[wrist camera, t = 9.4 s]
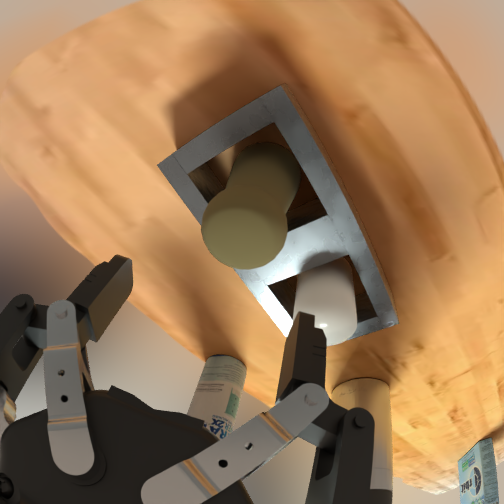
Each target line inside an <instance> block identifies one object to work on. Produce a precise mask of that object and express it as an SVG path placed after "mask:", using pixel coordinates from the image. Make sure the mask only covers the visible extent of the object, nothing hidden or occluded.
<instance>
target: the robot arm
mask: <svg viewBox="0 0 504 504" xmlns="http://www.w3.org/2000/svg"><path fill="white" fill-rule="evenodd" d="M132 287H133V272H132V260H131V259H129V258H126V257H123V256H120V255H115V256H114V257H113V258H112V259H111V260H110V261H109V263H108V262H103V263H101V264H99V265H97V266H96V267H95V268H94V269H93V270H92V271H91V272H90V274H89V275H87V277H86V278H85V280H83V281H82V282H81V283H80V284H79V286H78V287H77V288H76V289H75V290H74V291H73V293H72V294H71V295H70V296H69V297H68V298H67V299H66V300H59V301H56V302H54V303H53V304H51V305H50V306H45V305H38V304H35V303H34V300H33V298H32V297H31V296H30V295H28V294H20V295H18V296H16V297H14V298H13V299H12V300H11V301H10V303H9V304H8V305H7V306H6V307H5V309H4V310H3V311H2V313H1V314H0V504H253V502H252V500H251V498H250V496H249V494H248V493H247V490H246V488H245V486H244V484H243V483H242V481H243V480H244V479H245V478H247V477H248V476H250V475H251V474H252V473H254V472H255V471H256V470H258V469H259V468H260V467H262V466H263V465H264V464H265V463H266V462H268V461H269V460H270V459H271V458H273V457H274V456H275V455H276V454H278V453H279V452H280V451H281V450H283V449H284V448H285V447H286V446H288V445H289V444H290V443H291V442H292V441H293V440H295V439H296V438H297V437H300V438H302V439H303V440H306V441H307V442H309V443H311V444H313V445H315V446H317V447H316V452H315V458H314V463H313V469H312V474H311V479H310V484H309V488H308V493H307V498H306V503H305V504H392V489H393V449H392V423H391V405H390V392H389V387H388V385H387V384H386V383H385V382H383V381H381V380H378V379H372V378H362V379H355V380H350V381H347V382H344V383H342V384H340V385H339V386H337V387H336V388H335V389H334V390H333V392H332V400H331V399H330V398H329V397H328V394H327V392H326V391H325V371H326V346H327V338H326V336H325V334H324V331H323V329H320V328H316V327H315V315H312V314H308V313H305V312H301V311H299V312H298V313H297V315H296V317H295V320H294V322H293V324H292V326H291V328H290V330H289V333H288V335H287V339H286V342H285V348H284V354H283V360H282V367H281V373H280V379H279V384H278V390H277V396H276V402H275V406H274V407H273V408H271V409H270V410H269V411H267V412H265V413H264V412H262V413H260V414H258V415H257V416H255V417H254V418H253V419H251V420H250V421H248V422H247V423H245V424H244V425H242V426H241V427H239V428H238V429H236V430H235V431H233V432H232V433H230V434H229V435H227V436H226V437H224V438H223V439H221V440H220V439H219V438H218V437H217V436H216V435H215V434H214V433H213V432H211V431H210V430H209V429H207V428H206V427H204V422H205V421H204V420H201V419H198V418H195V417H192V416H189V415H186V414H183V413H178V412H169V411H161V410H155V409H153V408H151V407H150V406H148V405H147V404H145V403H144V402H142V401H141V400H140V399H138V398H137V397H135V396H134V395H133V394H130V393H128V392H126V391H123V390H121V389H119V388H116V387H115V386H111V387H110V389H109V391H107V390H95V389H94V386H93V383H92V378H91V374H90V367H89V361H88V353H87V346H86V343H87V342H88V340H89V339H90V340H92V341H95V342H97V341H98V340H99V339H100V337H101V336H102V334H103V333H104V331H105V330H106V328H107V327H108V325H109V324H110V322H111V321H112V319H113V318H114V316H115V315H116V314H117V312H118V311H119V309H120V308H121V306H122V305H123V303H124V302H125V301H126V299H127V298H128V296H129V295H130V293H131V291H132ZM20 337H21V338H20ZM19 338H20V339H19ZM18 340H19V341H18ZM17 341H18V342H17ZM15 344H16V345H15ZM13 347H14V348H13ZM42 354H43V361H44V378H45V391H46V401H47V409H44V410H42V411H39V412H37V413H34V414H32V415H29V416H27V417H24V418H21V419H19V420H16V421H14V420H15V419H16V404H15V400H16V399H17V397H18V395H19V393H20V391H21V390H22V388H23V386H24V384H25V383H26V381H27V379H28V378H29V376H30V374H31V372H32V371H33V369H34V367H35V366H36V364H37V363H38V361H39V359H40V358H41V356H42Z"/></svg>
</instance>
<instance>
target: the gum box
mask: <svg viewBox="0 0 504 504" xmlns="http://www.w3.org/2000/svg"><path fill="white" fill-rule="evenodd" d="M458 470H459V483H460V501H461V504H499V497H498V482H497V472H496V464H495V456H494V449H493V443H492V437H491V438H488V439H485V440H482V441H479V442H478V443H477V444H476V445H475V446H474V447H473V448H472V449H471V450H470V451H469V452H468V453H467V454H466V455H465V456H463V457H462V458H461V459H460V460H459V461H458Z"/></svg>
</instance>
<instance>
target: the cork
mask: <svg viewBox="0 0 504 504" xmlns="http://www.w3.org/2000/svg"><path fill="white" fill-rule="evenodd" d="M300 183H301V168H300V166H299V164H298V161H297V159H296V158H295V157H294V156H293V155H292V153H291V152H290V151H289V150H287V149H285V148H284V147H282V146H280V145H278V144H274V143H270V142H263V143H256V144H253V145H251V146H248V147H246V148H245V149H244V150H243V151H242V152H241V153H240V154H239V155H238V157H237V159H236V160H235V162H234V165H233V168H232V170H231V173H230V176H229V179H228V182H227V185H226V188H225V190H223V191H221V192H219V193H218V194H217V195H216V196H215V197H214V198H213V199H212V200H211V201H210V202H209V204H208V205H207V207H206V209H205V211H204V213H203V218H202V226H201V232H202V236H203V240H204V243H205V245H206V246H207V248H208V250H209V251H210V253H211V254H212V255H213V256H214V257H215V258H216V259H217V260H218V261H220V262H221V263H223V264H225V265H227V266H229V267H232V268H236V269H246V270H251V269H254V268H258V267H262V266H265V265H266V264H268V263H269V262H271V261H272V260H274V259H275V258H276V256H277V255H278V254H279V252H280V251H281V250H282V248H283V247H284V244H285V241H286V237H287V232H288V227H287V217H286V215H285V214H286V213H287V211H288V209H289V207H290V205H291V203H292V201H293V199H294V197H295V195H296V193H297V191H298V189H299V186H300Z"/></svg>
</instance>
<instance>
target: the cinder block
mask: <svg viewBox="0 0 504 504" xmlns="http://www.w3.org/2000/svg"><path fill="white" fill-rule="evenodd" d="M273 122H274V123H275V124H276V126H277V127H278V129H279V131H280V132H281V134H282V135H283V137H284V139H285V140H286V142H287V144H288V145H289V147H290V149H291V150H292V152H293V154H294V155H295V157H296V159H297V160H298V162H299V164H300V165H301V167H302V169H303V171H304V172H305V174H306V176H307V177H308V179H309V181H310V183H311V185H312V186H313V188H314V190H315V192H316V193H317V195H318V197H319V198H317V199H315V200H312V201H310V202H308V203H306V204H304V205H301V206H299V207H297V208H295V209H293V210H291V211H288V212H287V213H286V214H285V215H286V217H287V227H288V232H287V237H286V241H285V244H284V247H283V248H282V250H281V251H280V252H279V254H278V255H277V256H276V258H275V259H274V260H272V261H271V262H269V263H268V264H266V265H265V266H262V267H258V268H254V269H251V270H246V269H236V268H233V269H234V270H235V271H236V273H237V274H238V275H239V277H240V278H241V279H242V280H243V282H244V283H245V284H246V286H247V287H248V288H249V290H250V291H251V292H252V294H253V295H254V296H255V297H256V299H257V300H258V301H259V303H260V304H261V305H262V306H263V308H264V309H265V310H266V312H267V313H268V314H269V316H270V317H271V318H272V319H273V321H274V322H275V323H276V325H277V326H278V327H279V328H280V330H281V331H282V332H283V333H284V335H285V336H286V337H287V335H288V333H289V330H290V328H291V326H292V321H293V313H294V305H295V297H296V294H295V292H294V291H293V289H292V288H291V286H290V285H289V283H288V282H287V280H286V278H289V277H291V276H294V275H297V274H299V273H302V272H305V271H307V270H310V269H312V268H315V267H318V266H320V265H323V264H325V263H328V262H331V261H333V260H336V259H338V258H341V257H343V256H346V255H348V254H349V256H350V258H351V260H352V262H353V264H354V266H355V268H356V270H357V272H358V275H359V277H360V279H361V281H362V283H363V285H364V287H365V289H366V293H363V294H360V295H357V296H355V303H356V314H357V328H356V331H355V332H354V334H353V335H352V336H351V337H350V338H349V339H347V340H350V339H353V338H356V337H359V336H363V335H366V334H369V333H372V332H375V331H378V330H381V329H384V328H387V327H390V326H393V325H396V324H399V320H398V315H397V311H396V306H395V302H394V298H393V295H392V292H391V289H390V287H389V284H388V282H387V279H386V277H385V274H384V272H383V269H382V267H381V264H380V262H379V260H378V257H377V255H376V252H375V250H374V248H373V246H372V243H371V241H370V239H369V236H368V234H367V232H366V230H365V228H364V225H363V223H362V221H361V219H360V217H359V215H358V212H357V210H356V208H355V206H354V204H353V202H352V200H351V198H350V196H349V194H348V192H347V190H346V188H345V186H344V184H343V182H342V180H341V178H340V176H339V174H338V172H337V170H336V168H335V166H334V165H333V163H332V161H331V159H330V157H329V155H328V153H327V152H326V150H325V148H324V146H323V144H322V143H321V141H320V139H319V137H318V135H317V134H316V132H315V130H314V128H313V127H312V125H311V123H310V122H309V120H308V118H307V117H306V115H305V113H304V112H303V110H302V108H301V107H300V105H299V103H298V102H297V100H296V98H295V97H294V95H293V94H292V92H291V90H290V89H289V87H288V86H287V84H286V83H284V84H282V85H280V86H278V87H277V88H275V89H273V90H271V91H269V92H268V93H266V94H264V95H262V96H261V97H259V98H257V99H255V100H254V101H252V102H250V103H249V104H247V105H245V106H244V107H242V108H240V109H239V110H237V111H235V112H234V113H232V114H231V115H229V116H227V117H226V118H224V119H223V120H221V121H220V122H218V123H216V124H215V125H213V126H212V127H210V128H209V129H207V130H206V131H204V132H203V133H201V134H200V135H198V136H197V137H195V138H194V139H192V140H191V141H190V142H188V143H187V144H185V145H184V146H182V147H181V148H180V149H178V150H177V151H175V152H174V153H173V154H171V155H170V156H169V157H167V158H166V159H164V160H163V161H162V162H160V163H159V164H158V165H157V166H158V167H159V169H160V170H161V171H162V173H163V174H164V176H165V177H166V178H167V180H168V181H169V183H170V184H171V185H172V187H173V188H174V189H175V191H176V192H177V193H178V195H179V196H180V198H181V199H182V200H183V202H184V203H185V204H186V206H187V207H188V208H189V210H190V211H191V213H192V214H193V215H194V217H195V218H196V219H197V221H198V222H199V223H200V225H201V226H202V218H203V213H204V211H205V209H206V207H207V205H208V204H209V202H210V201H211V200H212V199H213V198H214V197H215V196H216V195H217V194H218V193H219V192H221V191H223V190H225V189H224V188H223V186H222V185H221V183H220V182H219V180H218V179H217V178H216V176H215V175H214V173H213V172H212V170H211V169H210V167H209V166H208V165H207V163H206V162H207V161H208V160H210V159H211V158H213V157H215V156H216V155H218V154H220V153H221V152H223V151H224V150H226V149H228V148H229V147H231V146H233V145H234V144H236V143H238V142H239V141H241V140H243V139H245V138H246V137H248V136H250V135H251V134H253V133H255V132H257V131H258V130H260V129H262V128H264V127H266V126H267V125H269V124H271V123H273Z"/></svg>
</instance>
